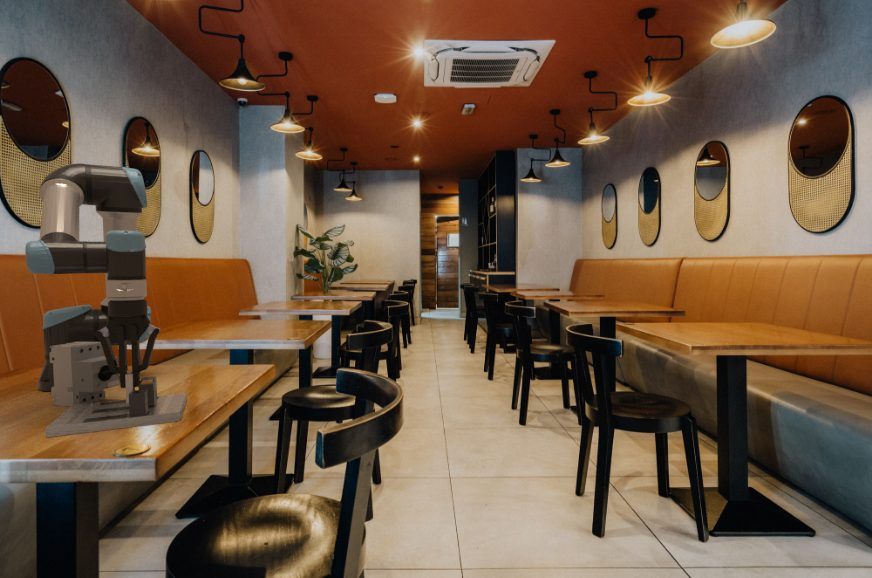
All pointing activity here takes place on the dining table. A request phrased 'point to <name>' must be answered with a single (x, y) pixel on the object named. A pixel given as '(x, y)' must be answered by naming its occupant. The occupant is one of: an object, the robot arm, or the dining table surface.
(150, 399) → the toggle
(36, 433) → the dining table surface
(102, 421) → the breaker panel
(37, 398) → the dining table surface
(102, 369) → the circuit breaker
